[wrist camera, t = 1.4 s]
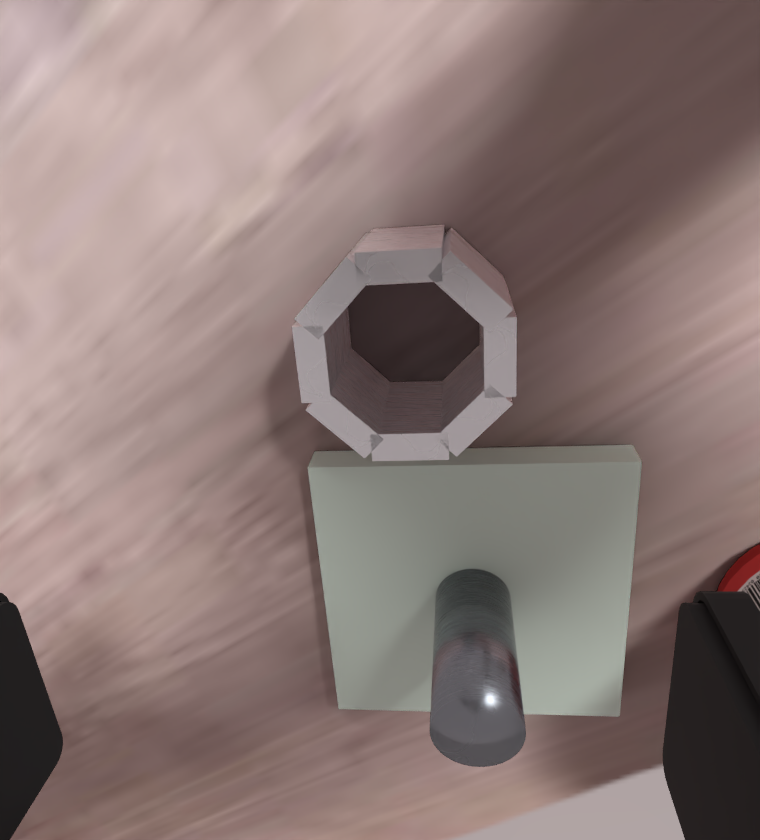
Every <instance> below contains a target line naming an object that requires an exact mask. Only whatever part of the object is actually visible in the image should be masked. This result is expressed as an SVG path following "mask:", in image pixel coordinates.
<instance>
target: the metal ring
mask: <svg viewBox="0 0 760 840" xmlns="http://www.w3.org/2000/svg"><path fill="white" fill-rule="evenodd" d="M423 282H434V283H435V284H437V285H438V286H439V287H440V288H441V289H442V290H443V291H444V292H445V293H447V294H448V295H449V296H450V297H451V298H452V299H453V300H454V301H455V302H456V303H458V304H459V305H460V306H461V307H462V308H463V309H464V310H465V311H466V312H468V313H469V314H470V315H471V316H472V317H473V318H474V319H475V320H476V321H477V322H479V332H480V344H479V345H478V346H477V347H476V348H475V349H474V350H473V351H472V352H471V353H470V354H469V355H468V356H467V357H466V358H465V359H464V360H463V361H462V362H461V363H460V364H459V365H458V366H457V367H456V368H455V369H454V370H453V371H452V372H451V373H450V374H449V375H448V376H447V377H446V378H445V379H444V380H443V381H413V382H390V381H389V380H388V379H387V378H386V377H384V376H383V375H382V374H381V373H380V372H379V371H377V370H376V369H375V368H374V367H373V366H372V365H370V364H369V363H368V362H367V361H366V360H365V359H363V358H362V357H361V356H360V355H359V354H357V353H356V352H355V351H354V350H353V349H352V346H351V335H350V325H349V314H348V305H349V304H350V303H351V302H352V301H353V300H354V298H355V297H356V296H357V295H358V294H359V293H360V291H361V290H362V289H363V288H364V287H365V286H366V285H384V284H403V283H423ZM294 319H295V320H296V322H295V324H294V325H293V326H292V333H293V341H294V349H295V357H296V364H297V372H298V380H299V388H300V396H301V403H309V404H308V406H307V408H306V411H307V412H308V413H309V414H311V415H312V416H313V417H314V418H316V419H317V420H318V421H319V422H320V423H322V424H323V425H324V426H325V427H327V428H328V429H329V430H330V431H331V432H333V433H334V434H335V435H336V436H338V437H339V438H340V439H341V440H342V441H344V442H345V443H346V444H347V445H349V446H350V447H351V448H352V449H354V450H355V451H356V452H357V453H358V454H360V455H361V456H362V457H363V458H366V457H367V456H368V455H369V454H370V453H371V452H372V461H415V460H449V451H450V452H452V453H453V454H454V455H455V456H456V457H457V456H458V455H459V454H460V453H461V452H462V451H464V450H465V449H466V448H467V447H468V446H469V445H470V444H471V443H472V442H473V441H474V440H475V439H476V438H477V437H479V436H480V435H481V434H482V433H483V432H484V431H485V430H486V429H487V428H488V427H489V426H490V425H491V424H492V423H493V422H495V421H496V420H497V419H498V418H499V417H500V416H501V415H502V414H503V413H504V412H505V411H506V410H507V409H508V408H510V407H511V406H512V405H513V403H512V397H516V362H517V316H516V313H515V310H514V306H513V303H512V300H511V297H510V293H509V290H508V287H507V284H506V282H505V280H504V277H503V275H502V274H501V273H500V272H499V271H498V270H497V269H496V268H495V267H494V266H493V265H492V264H491V263H489V262H488V261H487V260H486V259H485V258H484V257H483V256H482V255H481V254H480V253H479V252H478V251H477V250H476V249H474V248H473V247H472V246H471V245H470V244H469V243H468V242H467V241H466V240H465V239H464V238H463V237H462V236H461V235H459V234H458V233H457V232H456V231H455V230H454V229H453V228H452V227H451V228H450V229H449V230H448V231H447V233H446V234H445V231H444V224H443V225H427V226H410V227H394V228H378V229H372V231H371V232H370V233H369V234H368V233H367V232H366V233H365V234H364V236H363V237H362V238H361V239H360V240H359V242H358V243H357V244H356V245H355V246H354V248H353V249H352V250H351V251H350V252H349V254H348V255H347V256H346V257H345V258H344V259H343V261H342V262H341V263H340V264H339V265H338V267H337V268H336V269H335V270H334V271H333V273H332V274H331V275H330V276H329V277H328V279H327V280H326V281H325V282H324V283H323V285H322V286H321V287H320V288H319V289H318V291H317V292H316V293H315V294H314V295H313V297H312V298H311V299H310V300H309V302H308V303H307V304H306V305H305V306H304V308H303V309H302V310H301V311H300V312H299V314H298V315H297V316H296V317H295V318H294Z"/></svg>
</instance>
